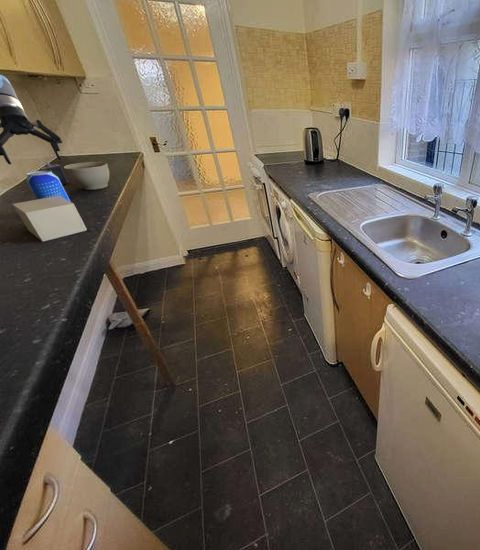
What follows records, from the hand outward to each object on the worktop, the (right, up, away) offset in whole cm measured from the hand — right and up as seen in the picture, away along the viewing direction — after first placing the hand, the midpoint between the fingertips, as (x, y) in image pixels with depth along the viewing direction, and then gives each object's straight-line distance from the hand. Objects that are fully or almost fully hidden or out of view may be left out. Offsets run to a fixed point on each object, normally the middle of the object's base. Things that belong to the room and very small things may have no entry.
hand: (34, 159), depth 111 cm
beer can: (+7, -20, +4) cm, 22 cm away
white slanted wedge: (+19, -28, -9) cm, 35 cm away
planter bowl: (-10, 0, +37) cm, 38 cm away
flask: (-32, +2, +40) cm, 51 cm away
